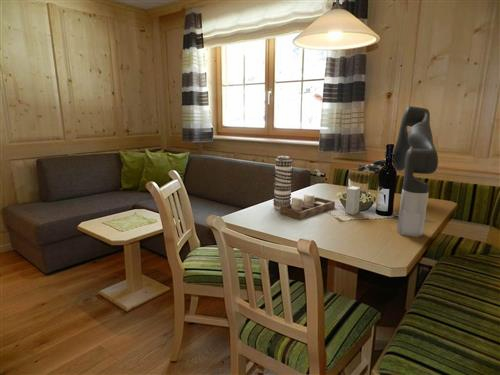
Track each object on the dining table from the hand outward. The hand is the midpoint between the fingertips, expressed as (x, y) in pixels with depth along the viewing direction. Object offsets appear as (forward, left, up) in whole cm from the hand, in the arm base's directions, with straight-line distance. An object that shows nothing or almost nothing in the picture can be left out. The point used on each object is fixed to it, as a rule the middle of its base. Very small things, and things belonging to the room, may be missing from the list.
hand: (367, 171), depth 160 cm
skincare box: (-11, +4, -19) cm, 22 cm away
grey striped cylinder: (-19, +36, -19) cm, 45 cm away
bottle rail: (-18, +23, -18) cm, 34 cm away
